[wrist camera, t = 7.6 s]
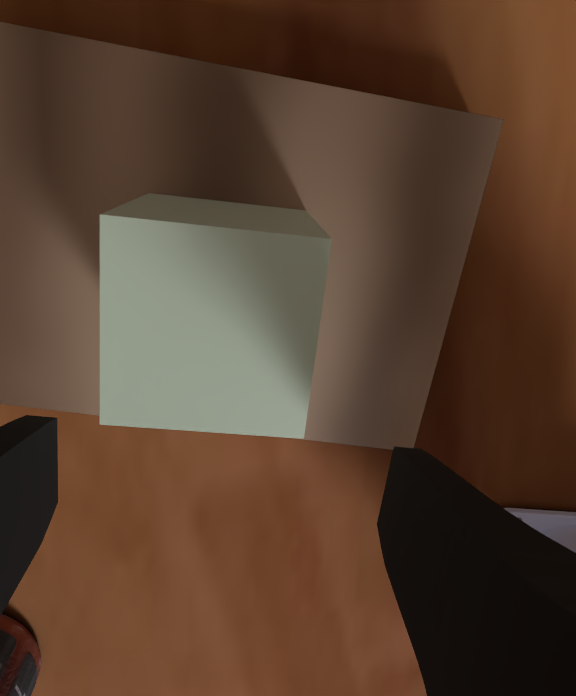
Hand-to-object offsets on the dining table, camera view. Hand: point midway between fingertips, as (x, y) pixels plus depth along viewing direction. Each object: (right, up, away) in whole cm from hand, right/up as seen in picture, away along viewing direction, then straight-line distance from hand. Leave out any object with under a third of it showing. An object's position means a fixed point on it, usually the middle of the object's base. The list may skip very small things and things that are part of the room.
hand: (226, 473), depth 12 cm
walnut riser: (-1, +6, +9) cm, 11 cm away
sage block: (-1, +5, +7) cm, 8 cm away
